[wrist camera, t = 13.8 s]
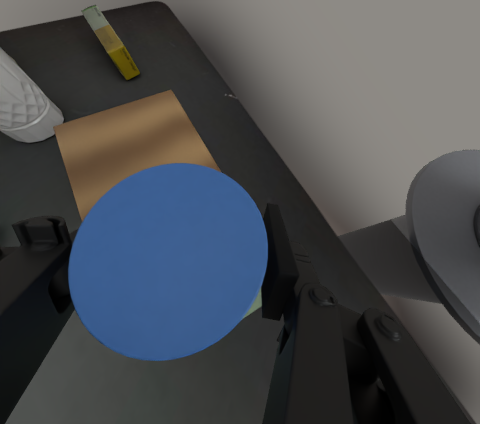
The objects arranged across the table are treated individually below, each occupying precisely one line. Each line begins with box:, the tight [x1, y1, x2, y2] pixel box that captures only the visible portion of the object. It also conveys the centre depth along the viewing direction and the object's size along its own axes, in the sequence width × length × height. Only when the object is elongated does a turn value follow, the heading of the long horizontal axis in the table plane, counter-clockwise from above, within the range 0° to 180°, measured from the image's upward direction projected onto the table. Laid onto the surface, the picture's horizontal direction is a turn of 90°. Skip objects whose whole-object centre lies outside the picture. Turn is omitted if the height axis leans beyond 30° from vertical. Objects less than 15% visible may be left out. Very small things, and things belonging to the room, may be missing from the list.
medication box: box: [82, 5, 140, 80], centre depth 27 cm, size 12×3×4 cm, turn 34°
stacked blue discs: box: [68, 163, 268, 361], centre depth 9 cm, size 7×7×10 cm
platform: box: [53, 90, 221, 222], centre depth 21 cm, size 14×14×4 cm
